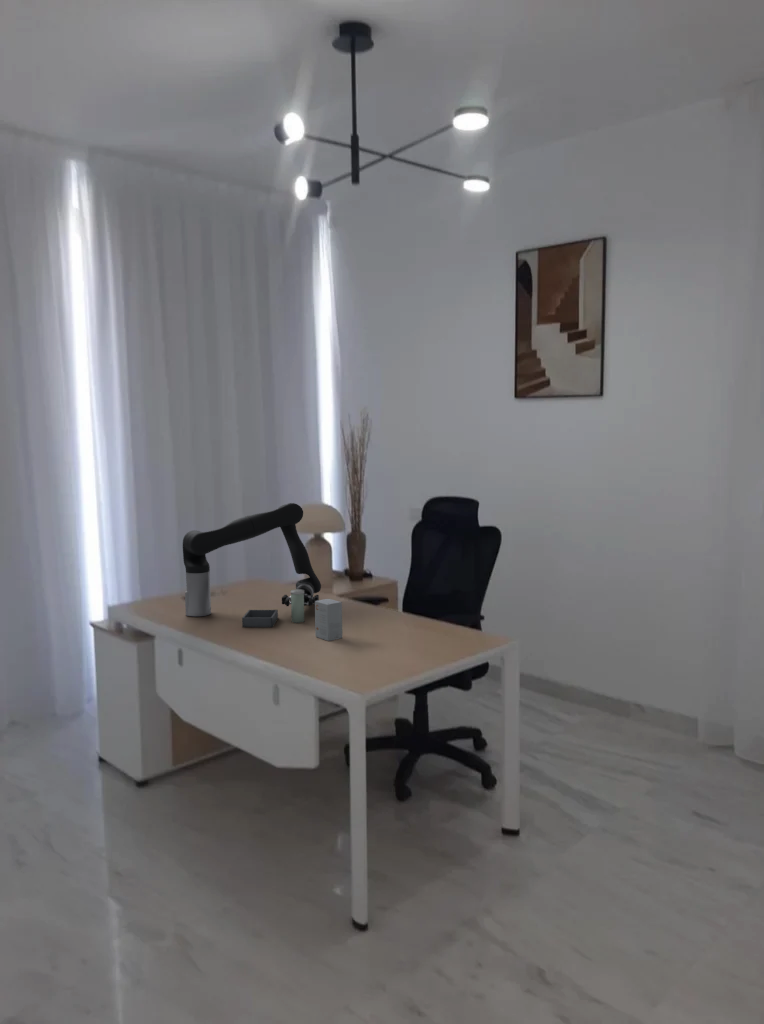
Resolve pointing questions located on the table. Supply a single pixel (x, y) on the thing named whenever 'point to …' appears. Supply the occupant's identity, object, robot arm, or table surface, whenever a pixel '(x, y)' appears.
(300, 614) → the canister
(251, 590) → the table surface
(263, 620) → the tray
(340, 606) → the small box
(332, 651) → the table surface
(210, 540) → the robot arm
